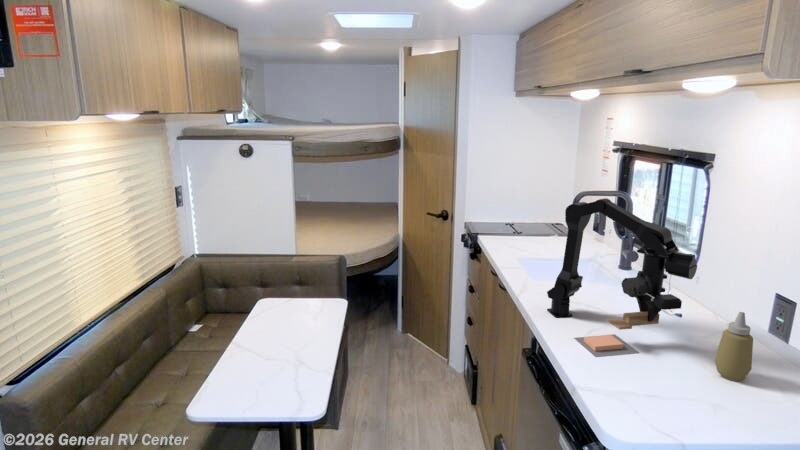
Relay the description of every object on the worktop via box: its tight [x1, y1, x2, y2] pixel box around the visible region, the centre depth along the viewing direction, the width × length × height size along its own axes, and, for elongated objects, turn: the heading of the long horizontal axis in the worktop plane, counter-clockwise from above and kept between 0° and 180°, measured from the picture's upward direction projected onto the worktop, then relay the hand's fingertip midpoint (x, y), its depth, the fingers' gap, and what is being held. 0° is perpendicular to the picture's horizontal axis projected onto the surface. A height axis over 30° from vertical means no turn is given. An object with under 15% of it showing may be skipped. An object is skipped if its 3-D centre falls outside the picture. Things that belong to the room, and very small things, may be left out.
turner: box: [606, 311, 660, 331], centre depth 139 cm, size 6×14×3 cm, turn 100°
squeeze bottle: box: [714, 311, 754, 382], centre depth 122 cm, size 8×8×18 cm
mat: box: [573, 333, 640, 358], centre depth 140 cm, size 12×14×1 cm
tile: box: [583, 334, 624, 351], centre depth 139 cm, size 6×2×9 cm
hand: (646, 319), depth 140 cm, fingers closed on turner, 3 cm apart
